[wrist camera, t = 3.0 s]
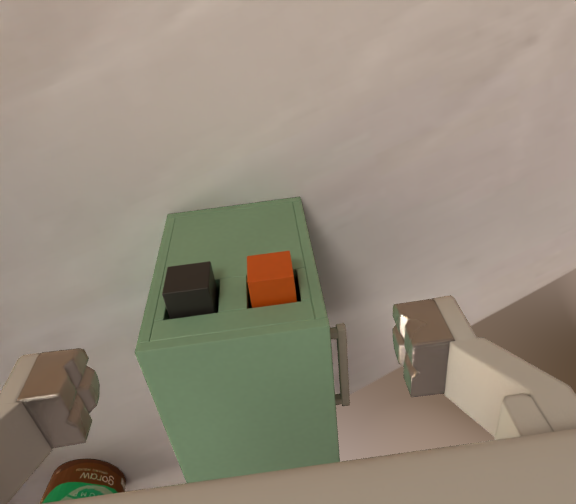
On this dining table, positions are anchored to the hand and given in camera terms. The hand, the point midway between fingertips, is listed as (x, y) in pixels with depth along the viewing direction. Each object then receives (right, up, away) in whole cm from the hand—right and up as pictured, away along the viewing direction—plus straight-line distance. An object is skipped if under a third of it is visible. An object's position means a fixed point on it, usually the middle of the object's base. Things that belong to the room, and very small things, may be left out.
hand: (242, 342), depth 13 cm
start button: (0, +1, +22) cm, 22 cm away
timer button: (-5, 0, +22) cm, 22 cm away
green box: (-3, +1, +35) cm, 35 cm away
